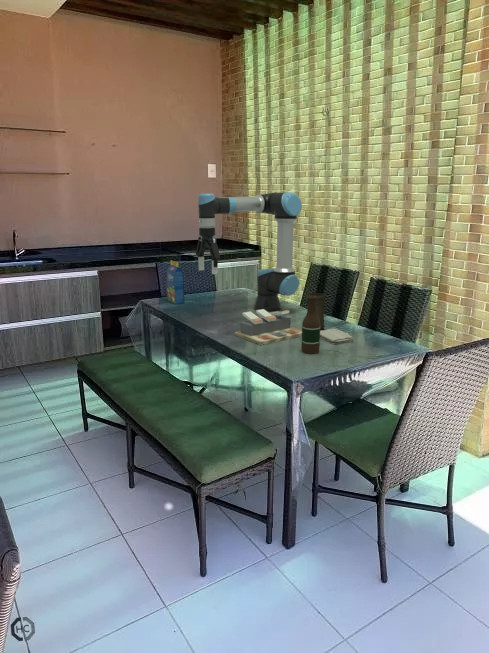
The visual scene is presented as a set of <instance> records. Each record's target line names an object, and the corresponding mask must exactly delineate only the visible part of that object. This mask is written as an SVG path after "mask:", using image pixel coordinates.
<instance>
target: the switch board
mask: <svg viewBox="0 0 489 653" xmlns="http://www.w3.org/2000/svg"><path fill="white" fill-rule="evenodd" d="M234 336H235V337H238V338H240V337H241V338H240V339H243V340H246V341H248V340H249V342H251V343H253V342H254V344H256V343H257V344H256V345H258V344H259V346H264V345H263V344H265V345H269V344H273V343H272V342H274V343H278V342H281V341H282V340H283V341H286V340H291V339H294V338H300V337H301V338H302V329H300V328H297V327H293V326H291V325H290V328H288V329H283V330H278V331H273V332H269V333H264V334H259V335H254V336H249V335H246V334H243V333H241V330H239V331H238V330H237V331H235V332H234ZM277 341H278V342H277ZM268 343H269V344H268Z"/></svg>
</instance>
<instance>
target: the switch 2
mask: <svg viewBox="0 0 489 653" xmlns="http://www.w3.org/2000/svg"><path fill="white" fill-rule="evenodd" d="M269 313H270V314H271V315H274V316H276V315H277V317H278V316H282V315H287V314H290V309H285V310H278V311H272V312H269Z"/></svg>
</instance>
